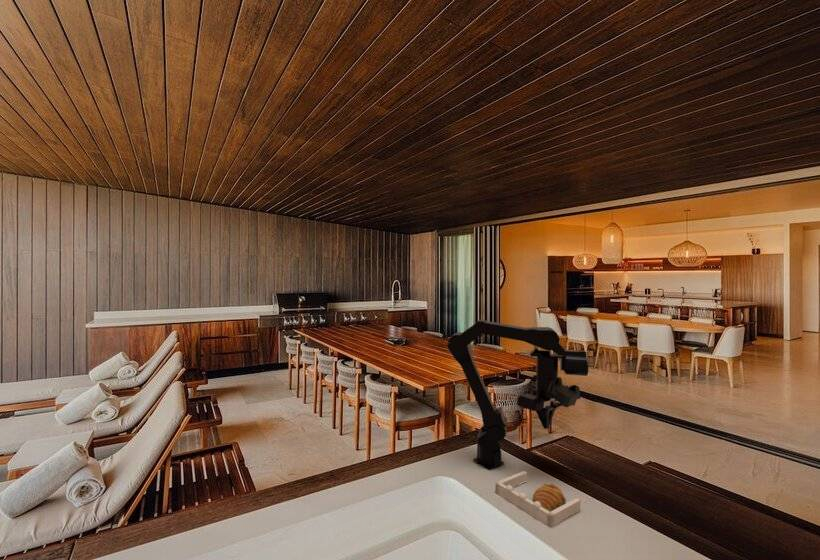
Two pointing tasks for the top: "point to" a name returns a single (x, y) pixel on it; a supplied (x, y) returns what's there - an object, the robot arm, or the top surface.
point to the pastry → (549, 497)
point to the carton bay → (534, 508)
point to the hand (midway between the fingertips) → (545, 428)
